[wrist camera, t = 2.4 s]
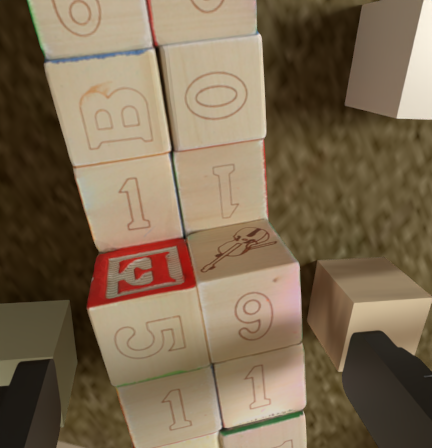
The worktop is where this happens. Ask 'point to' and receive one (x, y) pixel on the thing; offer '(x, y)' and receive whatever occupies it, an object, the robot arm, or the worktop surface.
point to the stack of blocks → (180, 217)
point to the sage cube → (39, 341)
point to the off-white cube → (393, 60)
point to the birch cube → (365, 304)
